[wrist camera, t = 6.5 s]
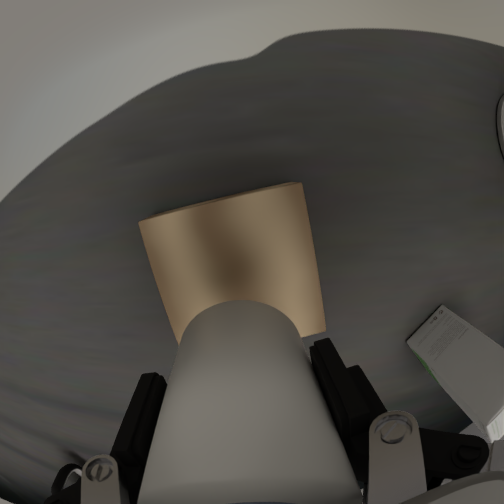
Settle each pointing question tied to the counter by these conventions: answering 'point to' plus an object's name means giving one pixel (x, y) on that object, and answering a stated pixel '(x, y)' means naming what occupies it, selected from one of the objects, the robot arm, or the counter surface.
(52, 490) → the mug
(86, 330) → the counter surface
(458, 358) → the skincare box
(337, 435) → the reagent bottle
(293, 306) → the oak slab
